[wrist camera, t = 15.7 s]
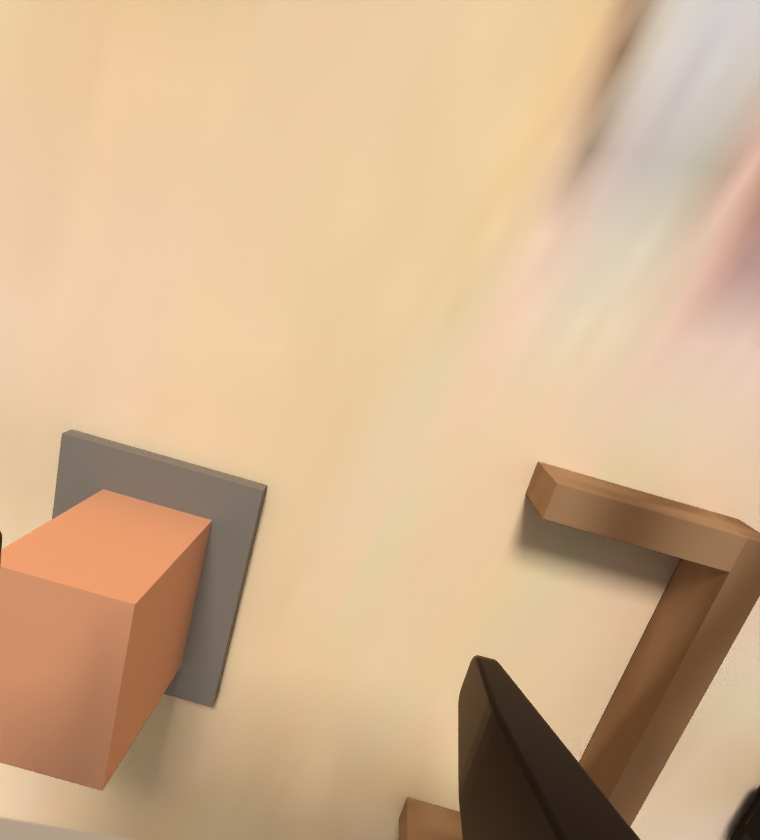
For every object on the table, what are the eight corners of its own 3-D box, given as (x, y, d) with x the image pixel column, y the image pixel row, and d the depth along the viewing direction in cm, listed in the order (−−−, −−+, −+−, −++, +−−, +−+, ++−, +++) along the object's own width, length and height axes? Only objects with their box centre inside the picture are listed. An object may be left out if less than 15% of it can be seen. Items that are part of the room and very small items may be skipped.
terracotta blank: (181, 664, 22) (102, 790, 16) (81, 636, 22) (-34, 753, 16) (212, 520, 20) (134, 604, 15) (103, 489, 20) (-19, 561, 15)
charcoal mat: (267, 485, 21) (263, 490, 20) (216, 697, 23) (212, 707, 23) (71, 429, 20) (62, 433, 20) (45, 649, 23) (36, 657, 23)
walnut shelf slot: (738, 519, 20) (785, 549, 17) (559, 862, 25) (576, 923, 22) (538, 461, 20) (557, 483, 17) (399, 818, 25) (398, 874, 22)
